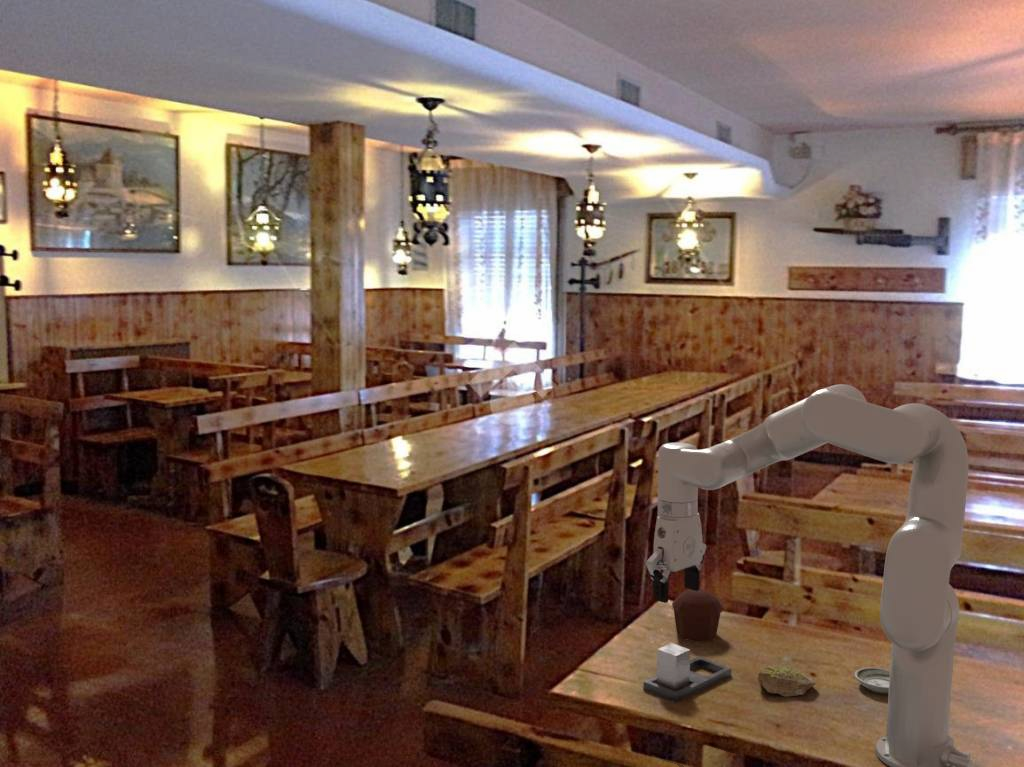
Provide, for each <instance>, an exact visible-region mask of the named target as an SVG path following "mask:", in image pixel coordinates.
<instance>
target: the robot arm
mask: <svg viewBox="0 0 1024 767" xmlns="http://www.w3.org/2000/svg"><path fill="white" fill-rule="evenodd" d="M825 444H830V445H832V446H836V447H839V448H842V449H844V450H846V451H850V452H853V453H855V454H859V455H862V456H865V457H869V458H871V459H874V460H876V461H881V462H884V463H888V464H891V465H892V464H894V465H901V464H908V463H910V462H912V472H911V477H910V483H909V488H908V490H909V491H908V502H907V509H906V516H905V520H904V523H903V524H902V526H900V527H899V528H898V529H897V530H896V531H895V532H894V534H893V535H892V536H891V538H890V540H889V543H888V545H887V549H886V553H885V560H884V570H883V577H882V578H883V579H882V586H881V587H882V588H881V596H880V603H879V604H880V605H879V618H880V619H879V620H880V624H881V628H882V630H883V633H884V634H885V636H886V637H887V638H888V640H889V641H890V642H891V650H890V664H889V670H890V677H889V693H888V694H887V695H888V696H887V697H888V698H887V713H886V714H887V717H886V729H885V730H886V733H885V736H883V737H880V738H879V739H878V740H877V742H876V744H875V754H876V756H877V757H878V758H879V760H880V761H881V762H882V763H884V764H885V765H887V766H889V767H973V760H972V759H971V754H970V753H969V752H966V751H963V750H960V749H957V748H956V746H955V738H954V737H953V736H950V735H949V731H950V730H949V727H950V726H949V725H950V712H951V711H950V710H951V698H952V685H953V684H952V683H953V682H952V681H953V680H952V679H953V672H954V671H953V669H954V659H955V658H954V657H955V646H956V638H957V633H958V632H957V630H958V624H959V616H960V604H959V600H958V596H957V593H956V591H955V590H954V588H953V586H952V585H951V584H950V583H949V582H950V576H951V571H952V569H953V567H954V566H955V564H956V563H957V562H958V560H959V558H960V557H961V554H962V549H963V538H964V537H963V536H964V535H963V533H964V523H965V514H966V507H967V506H966V505H967V504H966V502H967V490H968V481H969V455H968V454H969V452H968V448H967V444H966V441H965V439H964V436H963V435H962V432H961V431H960V430H959V428H958V427H957V425H956V424H955V423H954V422H953V421H952V420H951V418H949V417H948V416H947V415H945V413H943V412H941V410H938V409H937V408H935V407H932V406H930V405H928V404H923V403H916V402H914V403H913V402H911V403H906V404H902V405H900V406H897V407H895V408H893V409H892V408H888V407H885V406H881V405H878V404H874V403H871V402H868V401H867V399H866V396H864V394H863V393H862V391H860V390H859V389H858V388H856V387H855V386H853V385H851V384H846V383H845V384H844V383H843V384H842V383H841V384H840V383H839V384H835V385H831V386H827V387H824V388H821V389H818V390H816V391H814V392H813V393H811V394H810V395H809V396H808V397H806V398H804V399H802V400H799V401H798V402H794V403H793V404H792V405H789V406H786V407H784V408H783V409H780V410H778V411H776V412H774V413H772V414H770V415H768V416H767V417H766V418H765V420H764V421H763V422H761V424H759V425H757V426H755V427H754V428H752V429H749V430H748V431H745V432H743V433H741V434H739V435H737V436H735V437H733V438H730V439H728V440H726V441H723V442H721V443H718V444H715V445H712V446H710V447H707V448H702V449H698V448H697V446H695V445H694V444H692V443H689V442H688V443H687V442H668V443H663V444H662V445H661V446H660V447H659V448H658V454H657V457H658V458H657V460H658V461H657V462H658V463H657V516H656V522H655V527H654V529H655V530H654V538H653V553H652V555H650V557H649V558H648V559H647V560H646V562H645V566H646V568H647V571H648V572H647V573H648V575H649V576H650V579H651V580H652V581H653V584H652V586H653V587H652V591H653V592H652V597H653V598H652V599H653V600H654V601H658V602H660V603H664V604H666V603H668V602H669V581H667V580H668V578H669V575H670V573H671V572H674V573H675V572H679V571H682V570H684V581H683V582H684V588H686V589H687V590H688V589H691V590H695V591H698V590H699V588H700V579H701V578H700V576H701V575H700V573H701V570H702V567H703V566H702V563H703V561H704V560H705V556H704V555H705V552H706V549H707V544H705V543H704V542H703V531H702V530H703V529H702V522H701V518H700V513H699V511H698V509H699V507H698V506H699V504H698V502H699V501H698V499H699V493H698V492H699V489H702V490H708V491H714V490H718V489H721V488H722V487H725V486H727V485H729V484H732V483H734V482H736V481H738V480H740V479H743V478H744V477H747V476H748V475H751V474H753V473H756V472H758V471H759V470H762V469H765V468H766V467H769V466H772V465H774V464H775V463H778V462H782V461H790V460H792V459H794V458H797V457H799V456H801V455H804V454H805V453H808V452H810V451H812V450H815V449H817V448H819V447H821V446H823V445H825ZM661 570H663V572H662V573H661Z"/></svg>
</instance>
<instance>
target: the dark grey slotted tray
mask: <svg viewBox="0 0 1024 767" xmlns="http://www.w3.org/2000/svg"><path fill="white" fill-rule="evenodd" d="M699 667H700V668H703V669H706V670H709V671H712V672H713V673H712V674H709V675H703V674H701V673H698V672H696V671H693V670H695V669H697V668H699ZM730 676H732V668H731V667H729V666H726V665H723V664H720V663H718V662H715V661H712V660H710V659H706V658H704V657H701V656H697V657H695V658H693V659H690V676H689V686H687V687H685V688H683V689H680V690H678V691H676V692H675V691H672V690H670V689H667V688H665V687H662V686H660V685H658V684H657V675H655V676H652V677H651V678H649V679H646V680H644V681H643V690H645V691H647V692H650V693H653V694H655V695H658V696H659V697H661V698H664V699H667V700H669V701H672V702H674V703H679V702H680V701H682V700H684V699H686V698H689V697H691V696H693V695H695V694H696V693H699V692H701V691H703V690H704V689H707V688H710V687H711V686H713V685H715V684H717V683H718V682H721V681H723V680H725V679H727V678H729V677H730Z"/></svg>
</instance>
